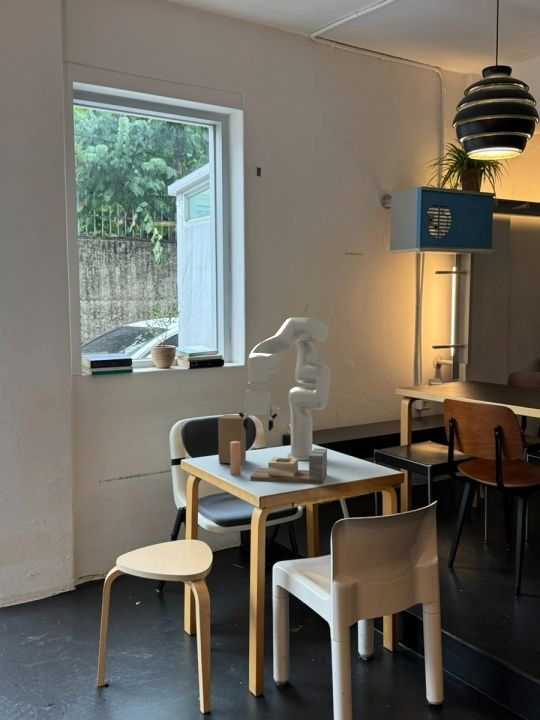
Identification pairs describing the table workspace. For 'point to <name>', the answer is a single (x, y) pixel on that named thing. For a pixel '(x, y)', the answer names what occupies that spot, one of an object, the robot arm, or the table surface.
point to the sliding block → (283, 466)
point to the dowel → (235, 458)
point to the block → (231, 436)
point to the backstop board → (300, 471)
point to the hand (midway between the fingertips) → (258, 429)
